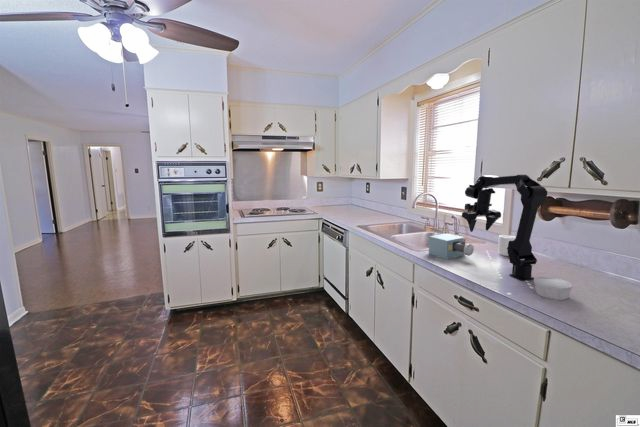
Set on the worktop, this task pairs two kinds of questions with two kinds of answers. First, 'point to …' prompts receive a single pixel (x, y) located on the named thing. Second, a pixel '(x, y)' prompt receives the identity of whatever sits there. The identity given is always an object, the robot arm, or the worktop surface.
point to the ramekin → (552, 288)
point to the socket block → (445, 245)
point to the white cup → (504, 243)
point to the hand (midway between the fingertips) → (479, 230)
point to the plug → (463, 248)
